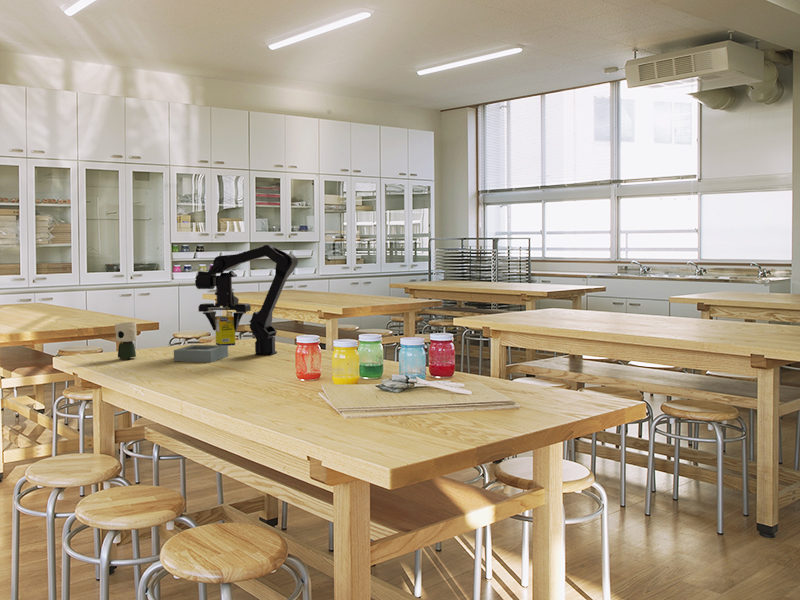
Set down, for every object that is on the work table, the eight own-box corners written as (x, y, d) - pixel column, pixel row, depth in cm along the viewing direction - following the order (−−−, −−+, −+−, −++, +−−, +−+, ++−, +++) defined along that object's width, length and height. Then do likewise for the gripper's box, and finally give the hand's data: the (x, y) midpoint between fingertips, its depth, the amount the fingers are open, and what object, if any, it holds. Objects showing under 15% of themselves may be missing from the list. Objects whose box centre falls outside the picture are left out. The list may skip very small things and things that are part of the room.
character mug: (110, 358, 257) (108, 323, 256) (128, 356, 263) (127, 321, 262) (125, 361, 250) (123, 325, 249) (143, 359, 255) (142, 323, 254)
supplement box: (235, 345, 267) (235, 316, 266) (220, 346, 264) (219, 317, 263) (231, 343, 272) (230, 315, 272) (215, 344, 269) (214, 316, 269)
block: (228, 356, 261) (227, 345, 261) (211, 362, 247) (210, 350, 247) (192, 355, 263) (192, 344, 263) (174, 361, 250) (173, 350, 249)
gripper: (255, 288, 273) (256, 328, 274) (210, 288, 276) (211, 327, 277) (244, 289, 262) (245, 331, 263) (197, 289, 265) (198, 331, 267)
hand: (225, 330), depth 268 cm, fingers closed on supplement box, 8 cm apart
